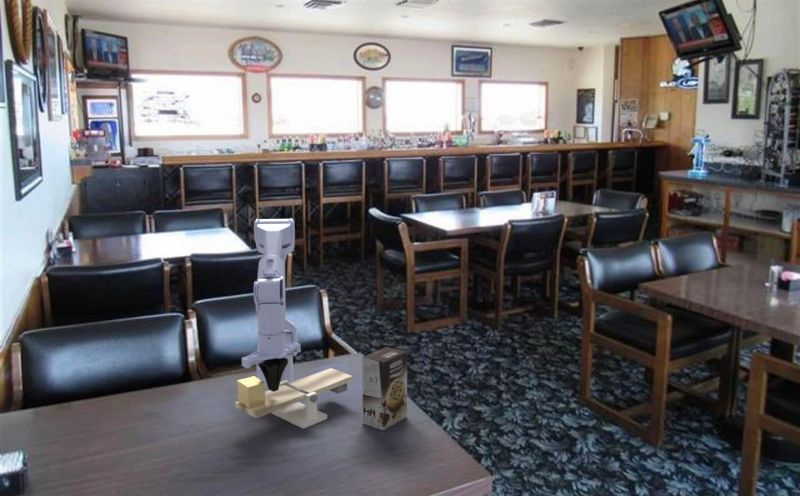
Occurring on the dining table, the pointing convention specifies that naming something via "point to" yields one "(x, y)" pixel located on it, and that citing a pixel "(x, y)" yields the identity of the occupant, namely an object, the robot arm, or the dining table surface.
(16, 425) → the dining table surface
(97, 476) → the dining table surface
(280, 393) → the beam
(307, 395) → the stand
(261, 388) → the rider
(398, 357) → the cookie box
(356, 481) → the dining table surface
